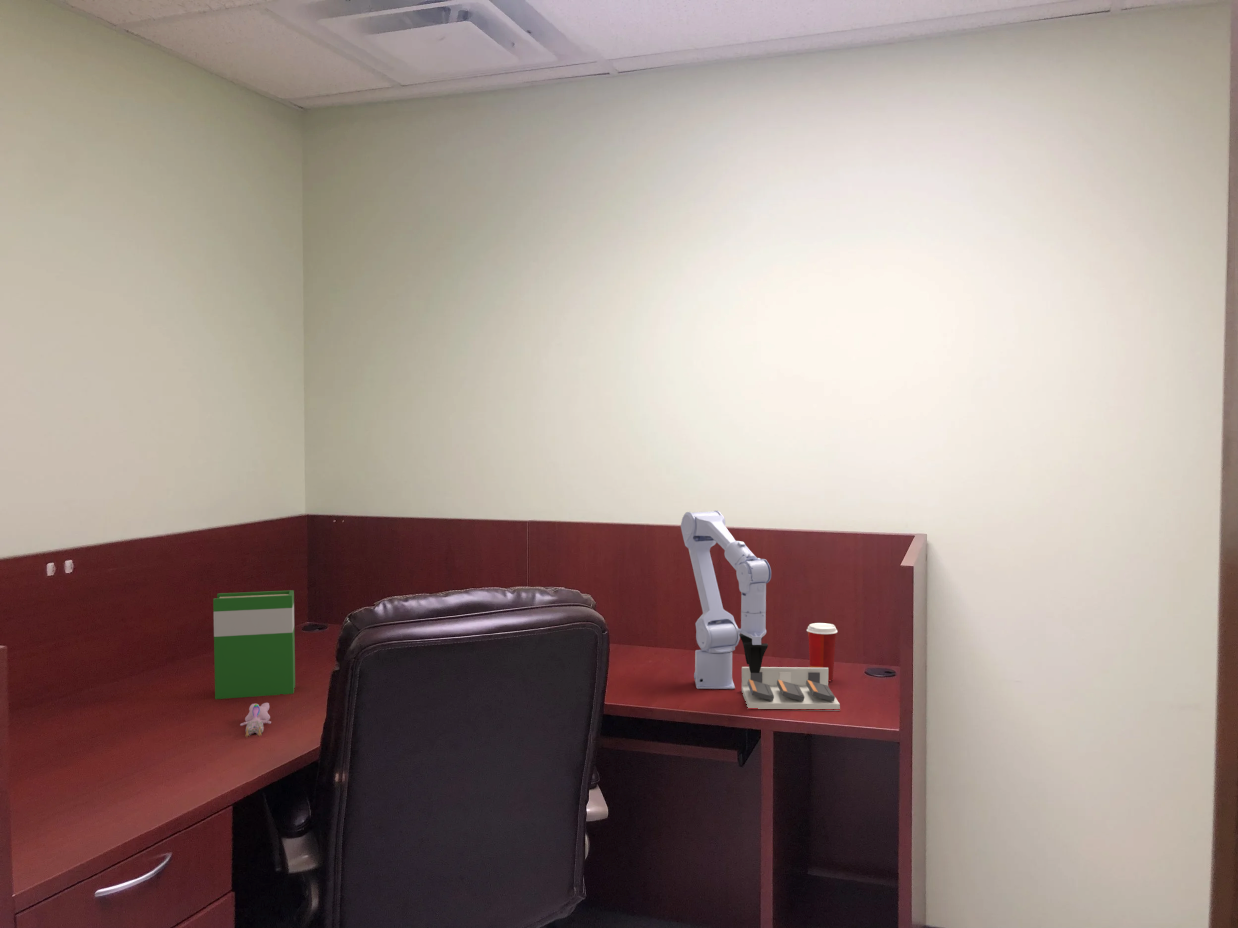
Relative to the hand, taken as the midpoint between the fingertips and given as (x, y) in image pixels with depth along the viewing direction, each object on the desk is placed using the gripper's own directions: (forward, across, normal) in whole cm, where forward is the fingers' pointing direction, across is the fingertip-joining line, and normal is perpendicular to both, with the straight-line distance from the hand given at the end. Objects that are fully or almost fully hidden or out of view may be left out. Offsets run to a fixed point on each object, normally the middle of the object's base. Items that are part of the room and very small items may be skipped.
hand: (753, 668), depth 228 cm
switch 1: (+5, 0, +2) cm, 6 cm away
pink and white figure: (+8, +22, -110) cm, 112 cm away
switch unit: (+8, -1, +9) cm, 12 cm away
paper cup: (+8, -20, +20) cm, 29 cm away
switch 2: (+5, 0, +9) cm, 10 cm away
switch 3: (+5, 0, +16) cm, 17 cm away
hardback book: (+8, -4, -120) cm, 121 cm away
